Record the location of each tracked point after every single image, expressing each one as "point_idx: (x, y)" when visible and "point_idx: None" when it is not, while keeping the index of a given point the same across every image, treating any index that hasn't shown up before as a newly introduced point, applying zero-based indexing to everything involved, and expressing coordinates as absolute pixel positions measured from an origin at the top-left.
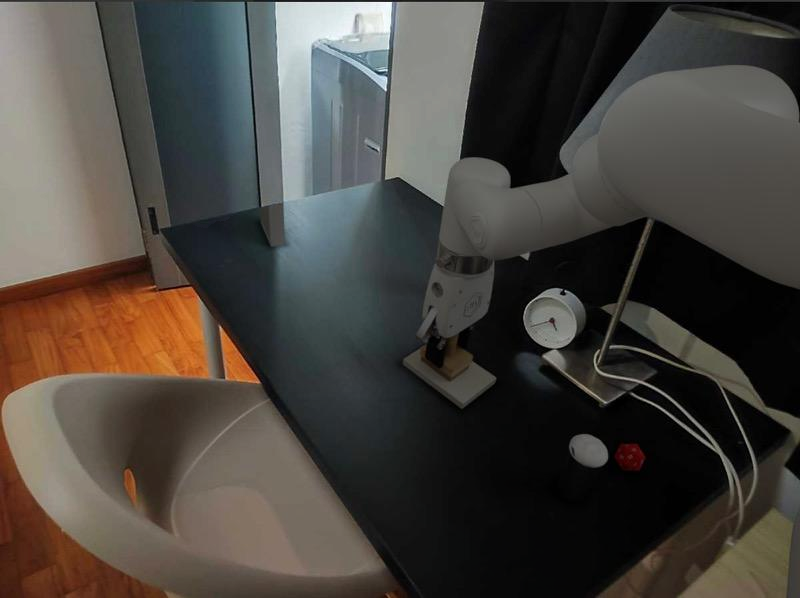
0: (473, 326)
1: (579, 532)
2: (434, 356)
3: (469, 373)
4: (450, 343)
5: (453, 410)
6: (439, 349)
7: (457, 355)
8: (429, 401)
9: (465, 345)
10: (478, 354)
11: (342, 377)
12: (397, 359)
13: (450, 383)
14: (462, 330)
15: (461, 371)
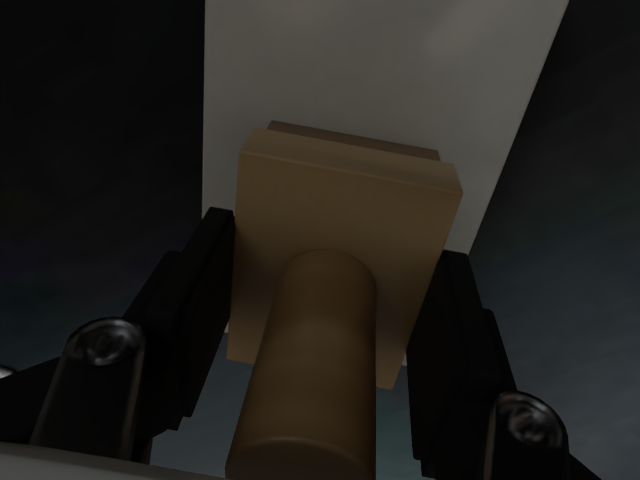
0: (92, 328)
1: None
2: (501, 350)
3: (301, 95)
4: (364, 350)
5: (586, 23)
6: (548, 406)
7: (313, 230)
8: (579, 162)
9: (220, 239)
10: (112, 131)
11: (605, 448)
12: (406, 367)
13: (447, 142)
14: (188, 353)
15: (340, 140)
